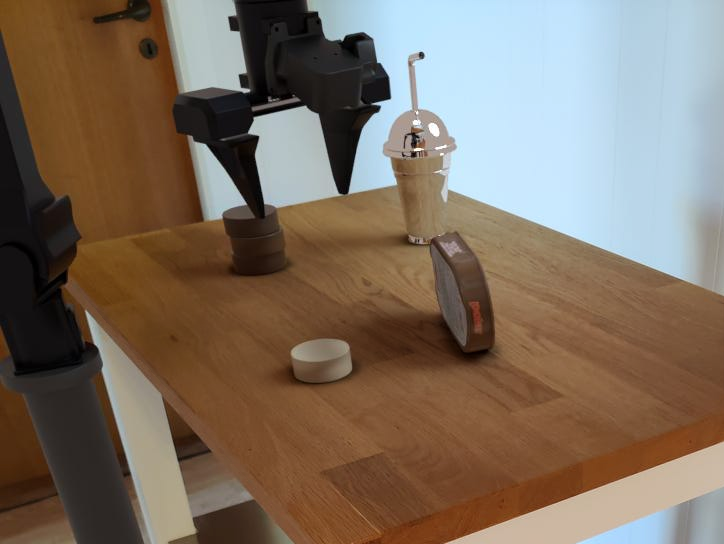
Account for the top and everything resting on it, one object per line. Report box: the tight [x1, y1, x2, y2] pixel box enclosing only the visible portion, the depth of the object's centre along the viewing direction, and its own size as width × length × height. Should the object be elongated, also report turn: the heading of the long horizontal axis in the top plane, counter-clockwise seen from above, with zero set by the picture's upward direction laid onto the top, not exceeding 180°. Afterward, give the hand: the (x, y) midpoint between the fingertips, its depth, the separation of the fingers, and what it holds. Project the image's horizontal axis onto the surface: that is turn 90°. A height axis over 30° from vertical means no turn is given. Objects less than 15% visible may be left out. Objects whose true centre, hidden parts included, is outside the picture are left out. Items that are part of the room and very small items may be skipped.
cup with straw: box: [381, 51, 458, 245], centre depth 112 cm, size 8×9×20 cm
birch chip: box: [290, 338, 353, 384], centre depth 88 cm, size 5×5×2 cm
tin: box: [429, 230, 496, 354], centre depth 91 cm, size 15×3×8 cm, turn 14°
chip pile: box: [221, 203, 288, 276], centre depth 112 cm, size 6×6×6 cm
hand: (303, 206), depth 88 cm, fingers open, 9 cm apart
